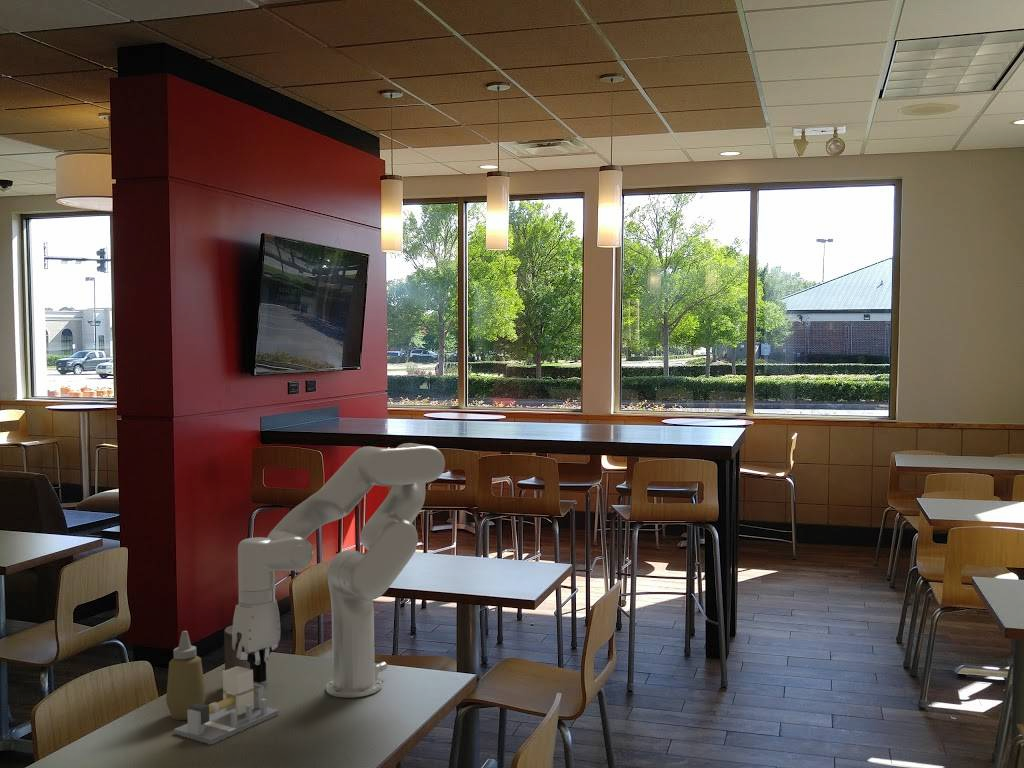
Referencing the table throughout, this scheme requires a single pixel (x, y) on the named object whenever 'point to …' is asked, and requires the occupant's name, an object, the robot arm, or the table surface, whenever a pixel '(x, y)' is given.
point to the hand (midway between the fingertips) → (258, 680)
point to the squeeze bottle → (184, 679)
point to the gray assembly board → (224, 718)
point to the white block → (238, 688)
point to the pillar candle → (231, 656)
